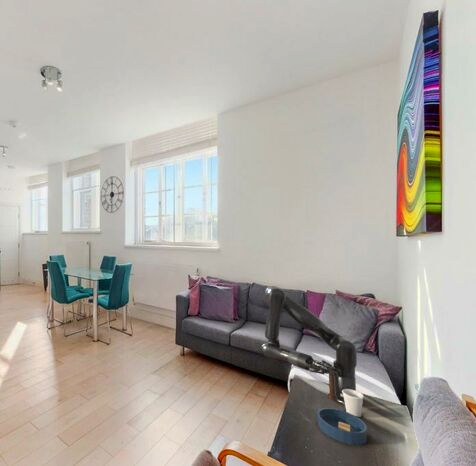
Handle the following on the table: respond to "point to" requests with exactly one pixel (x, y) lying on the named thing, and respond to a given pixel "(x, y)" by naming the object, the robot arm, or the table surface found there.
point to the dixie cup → (353, 401)
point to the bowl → (329, 426)
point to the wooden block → (344, 426)
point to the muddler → (332, 386)
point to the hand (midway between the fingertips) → (338, 373)
